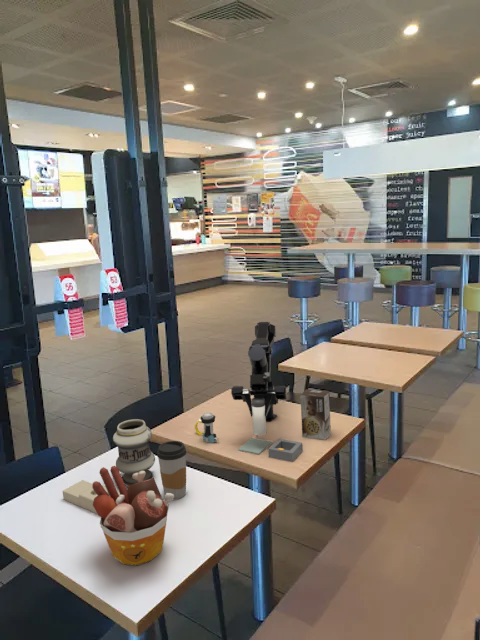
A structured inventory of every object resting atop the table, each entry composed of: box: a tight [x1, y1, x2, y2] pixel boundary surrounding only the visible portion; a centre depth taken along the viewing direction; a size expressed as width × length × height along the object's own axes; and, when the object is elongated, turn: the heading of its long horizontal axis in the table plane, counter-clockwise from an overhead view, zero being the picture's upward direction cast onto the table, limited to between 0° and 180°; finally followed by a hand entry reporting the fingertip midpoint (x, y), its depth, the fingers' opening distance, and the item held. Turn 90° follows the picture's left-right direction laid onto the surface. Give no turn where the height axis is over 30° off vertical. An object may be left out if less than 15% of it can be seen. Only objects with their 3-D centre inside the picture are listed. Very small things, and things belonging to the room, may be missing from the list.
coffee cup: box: [156, 440, 187, 501], centre depth 145 cm, size 8×8×15 cm
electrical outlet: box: [62, 479, 120, 514], centre depth 145 cm, size 7×4×18 cm
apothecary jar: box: [112, 418, 156, 487], centre depth 156 cm, size 12×12×18 cm
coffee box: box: [299, 388, 332, 441], centre depth 180 cm, size 9×6×16 cm
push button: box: [199, 412, 219, 444], centre depth 180 cm, size 7×5×10 cm
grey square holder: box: [267, 438, 304, 463], centre depth 168 cm, size 9×9×3 cm
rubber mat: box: [237, 437, 273, 456], centre depth 175 cm, size 10×8×1 cm
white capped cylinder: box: [251, 397, 267, 436], centre depth 171 cm, size 4×4×12 cm
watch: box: [194, 418, 204, 436], centre depth 187 cm, size 6×3×6 cm, turn 67°
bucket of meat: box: [92, 465, 174, 566], centre depth 120 cm, size 20×16×20 cm
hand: (258, 416), depth 170 cm, fingers closed on white capped cylinder, 4 cm apart
